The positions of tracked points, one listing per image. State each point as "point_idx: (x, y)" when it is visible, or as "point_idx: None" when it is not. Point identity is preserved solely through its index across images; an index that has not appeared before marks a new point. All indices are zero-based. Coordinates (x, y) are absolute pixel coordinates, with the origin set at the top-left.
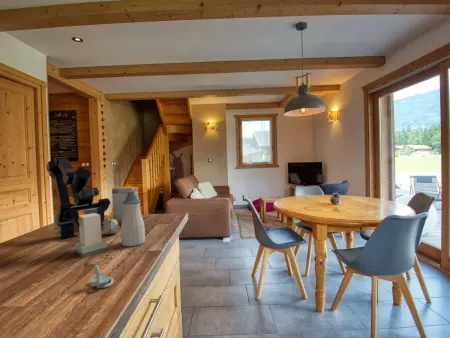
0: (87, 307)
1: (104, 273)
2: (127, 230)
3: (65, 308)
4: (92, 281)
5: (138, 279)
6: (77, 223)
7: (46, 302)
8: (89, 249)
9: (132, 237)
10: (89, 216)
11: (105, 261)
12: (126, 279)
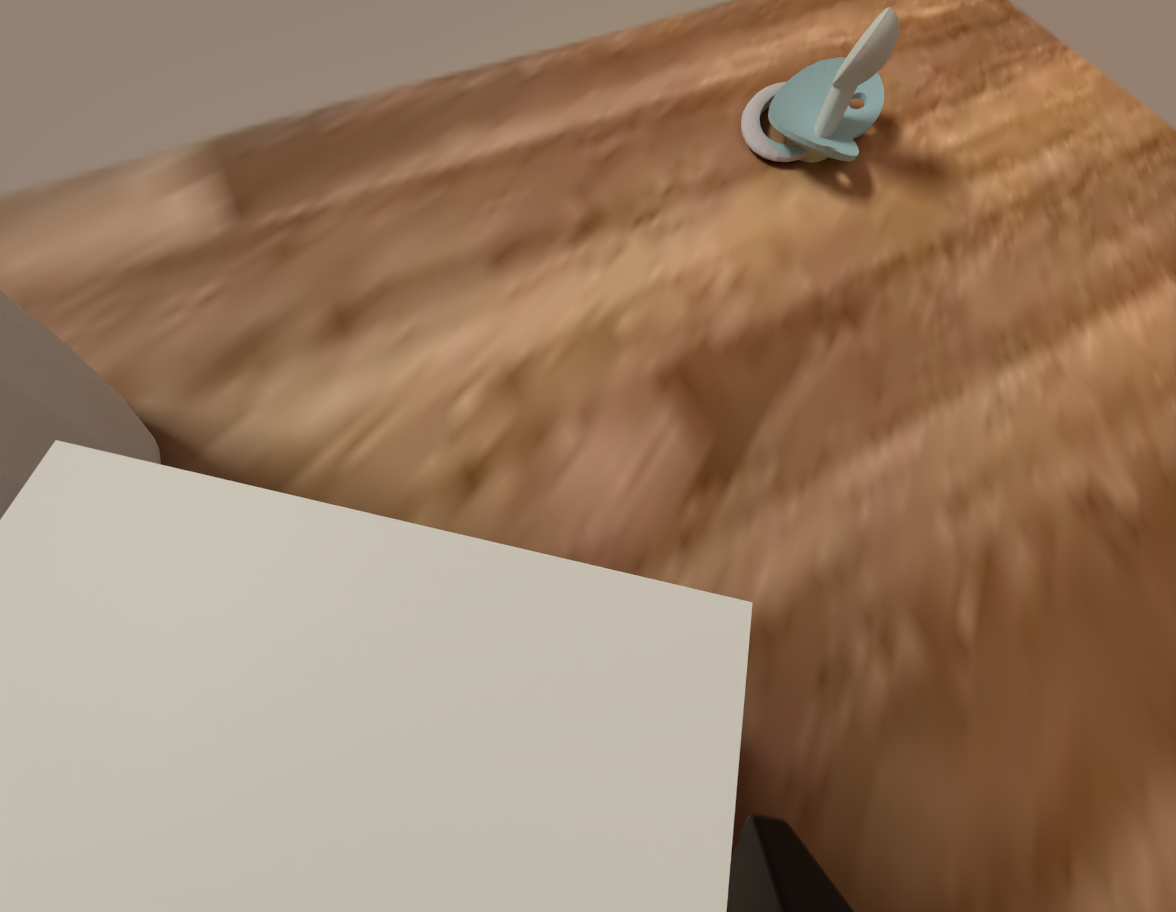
0: (933, 57)
1: (778, 125)
2: (16, 345)
3: (1005, 114)
4: (851, 148)
5: (656, 34)
6: (827, 891)
7: (1069, 214)
8: None
9: (78, 362)
10: (469, 610)
11: (589, 367)
12: (692, 75)
